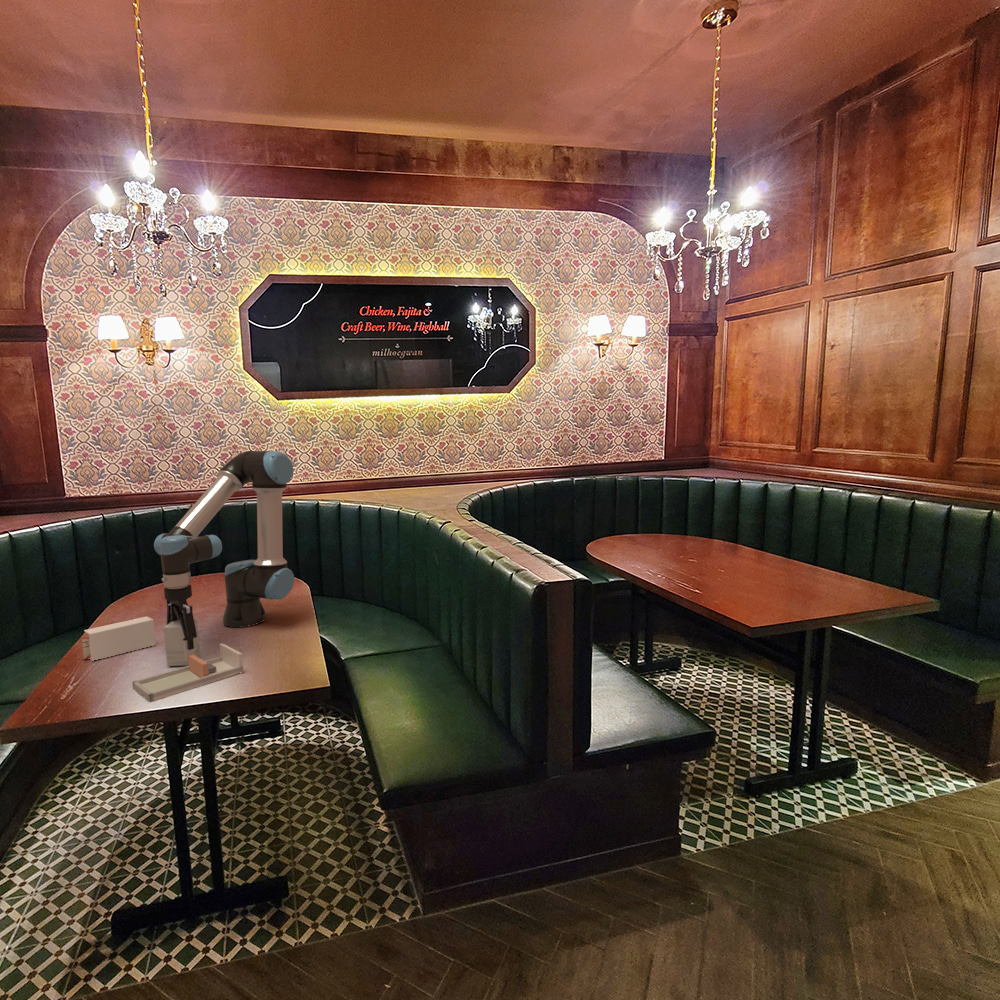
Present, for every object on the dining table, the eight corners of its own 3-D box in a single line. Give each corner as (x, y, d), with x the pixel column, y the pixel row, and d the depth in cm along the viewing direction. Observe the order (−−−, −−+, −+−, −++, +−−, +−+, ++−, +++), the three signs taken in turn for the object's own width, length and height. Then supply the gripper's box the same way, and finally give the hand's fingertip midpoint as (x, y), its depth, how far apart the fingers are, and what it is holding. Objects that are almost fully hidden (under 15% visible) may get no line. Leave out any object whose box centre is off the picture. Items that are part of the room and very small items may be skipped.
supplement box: (201, 656, 197) (198, 618, 196) (190, 665, 190) (187, 626, 188) (177, 657, 197) (174, 619, 196) (166, 666, 190) (162, 627, 188)
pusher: (206, 665, 189) (205, 651, 188) (220, 673, 182) (219, 659, 182) (189, 670, 185) (188, 656, 185) (203, 679, 179) (202, 664, 178)
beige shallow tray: (223, 661, 194) (222, 643, 194) (243, 672, 186) (242, 653, 185) (132, 688, 175) (131, 668, 175) (149, 701, 167) (147, 680, 166)
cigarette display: (149, 642, 212) (147, 616, 211) (155, 646, 209) (153, 619, 207) (82, 659, 198) (79, 631, 196) (87, 663, 194) (84, 635, 193)
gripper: (150, 582, 195) (157, 649, 198) (179, 595, 180) (185, 667, 183) (175, 577, 201) (181, 642, 204) (205, 589, 186) (211, 660, 189)
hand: (183, 654), depth 193 cm, fingers closed on supplement box, 10 cm apart
